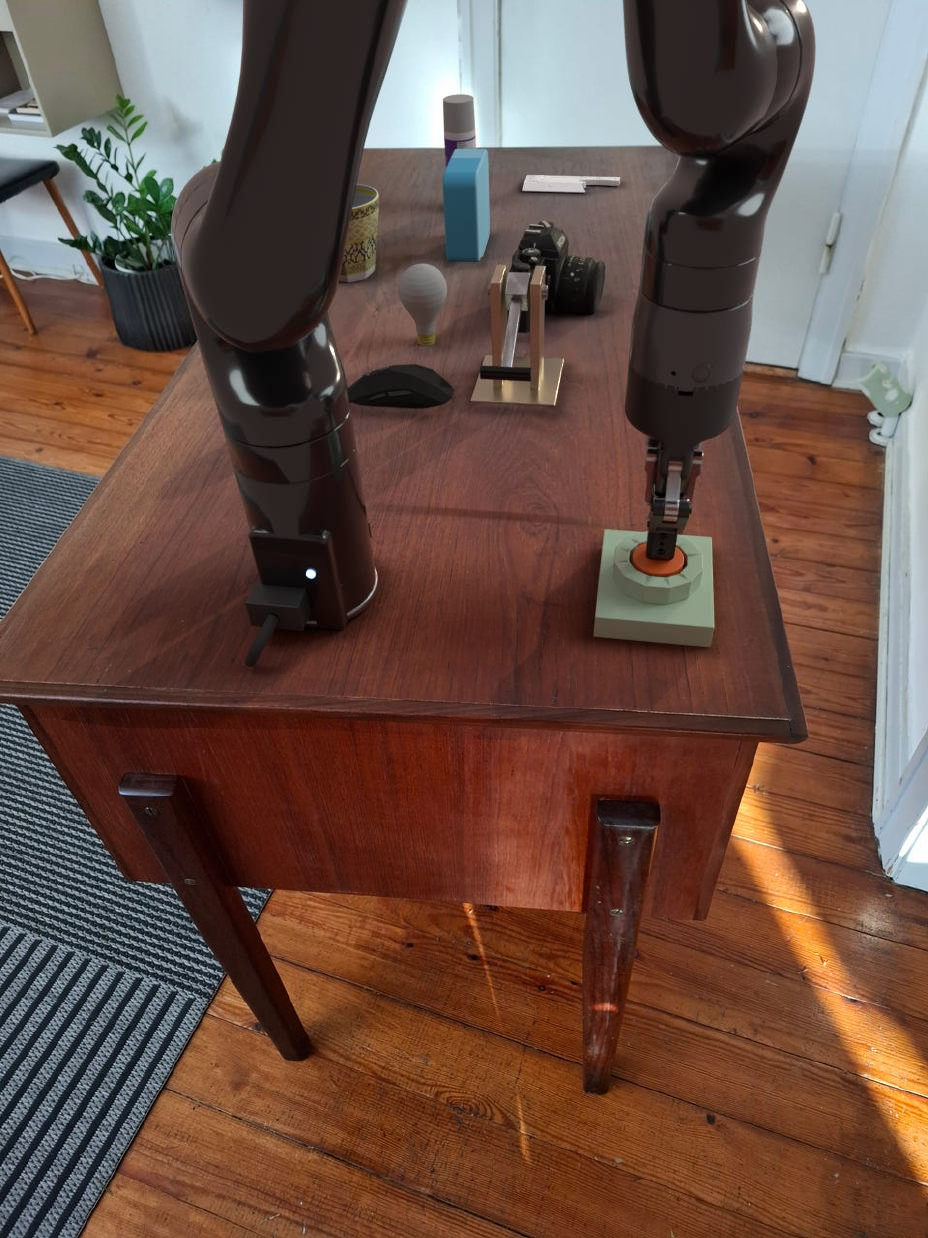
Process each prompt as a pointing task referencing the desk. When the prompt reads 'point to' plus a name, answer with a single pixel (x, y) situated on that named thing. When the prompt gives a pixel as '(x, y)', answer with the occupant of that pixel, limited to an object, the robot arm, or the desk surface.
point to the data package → (466, 204)
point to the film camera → (558, 272)
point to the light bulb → (423, 298)
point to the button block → (655, 594)
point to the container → (458, 124)
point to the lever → (512, 331)
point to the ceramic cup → (361, 236)
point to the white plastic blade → (565, 183)
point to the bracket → (543, 369)
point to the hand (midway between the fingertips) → (659, 554)
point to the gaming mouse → (401, 388)
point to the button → (657, 563)
